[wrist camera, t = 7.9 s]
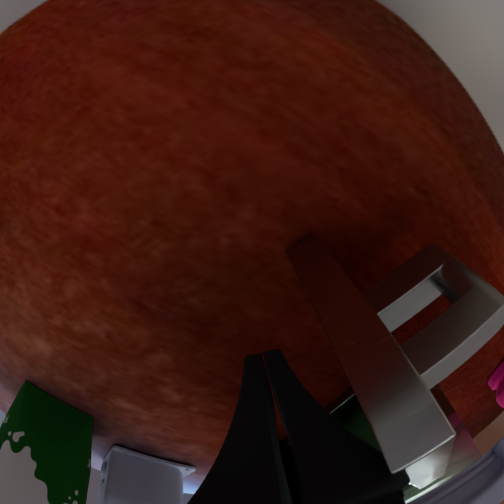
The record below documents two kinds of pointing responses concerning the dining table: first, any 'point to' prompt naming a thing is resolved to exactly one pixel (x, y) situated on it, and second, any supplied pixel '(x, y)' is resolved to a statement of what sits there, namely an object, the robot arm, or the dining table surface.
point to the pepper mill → (498, 383)
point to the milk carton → (44, 451)
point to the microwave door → (402, 345)
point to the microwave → (355, 421)
